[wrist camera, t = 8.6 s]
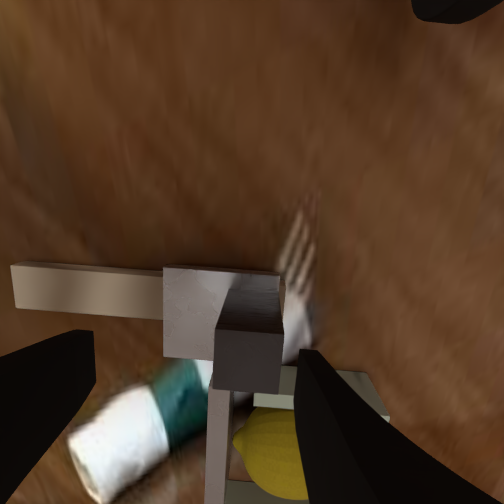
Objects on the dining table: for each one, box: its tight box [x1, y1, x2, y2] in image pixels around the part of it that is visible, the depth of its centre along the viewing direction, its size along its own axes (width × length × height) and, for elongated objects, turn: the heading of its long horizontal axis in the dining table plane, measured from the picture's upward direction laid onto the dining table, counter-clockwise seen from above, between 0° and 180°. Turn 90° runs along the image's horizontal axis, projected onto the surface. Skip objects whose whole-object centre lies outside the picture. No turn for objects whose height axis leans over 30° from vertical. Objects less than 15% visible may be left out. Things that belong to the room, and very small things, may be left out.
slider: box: [163, 264, 284, 504], centre depth 17 cm, size 7×16×7 cm, turn 176°
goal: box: [225, 366, 390, 504], centre depth 20 cm, size 10×12×4 cm
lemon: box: [232, 406, 308, 500], centre depth 19 cm, size 6×6×8 cm
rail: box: [10, 261, 286, 321], centre depth 19 cm, size 18×3×1 cm, turn 86°
